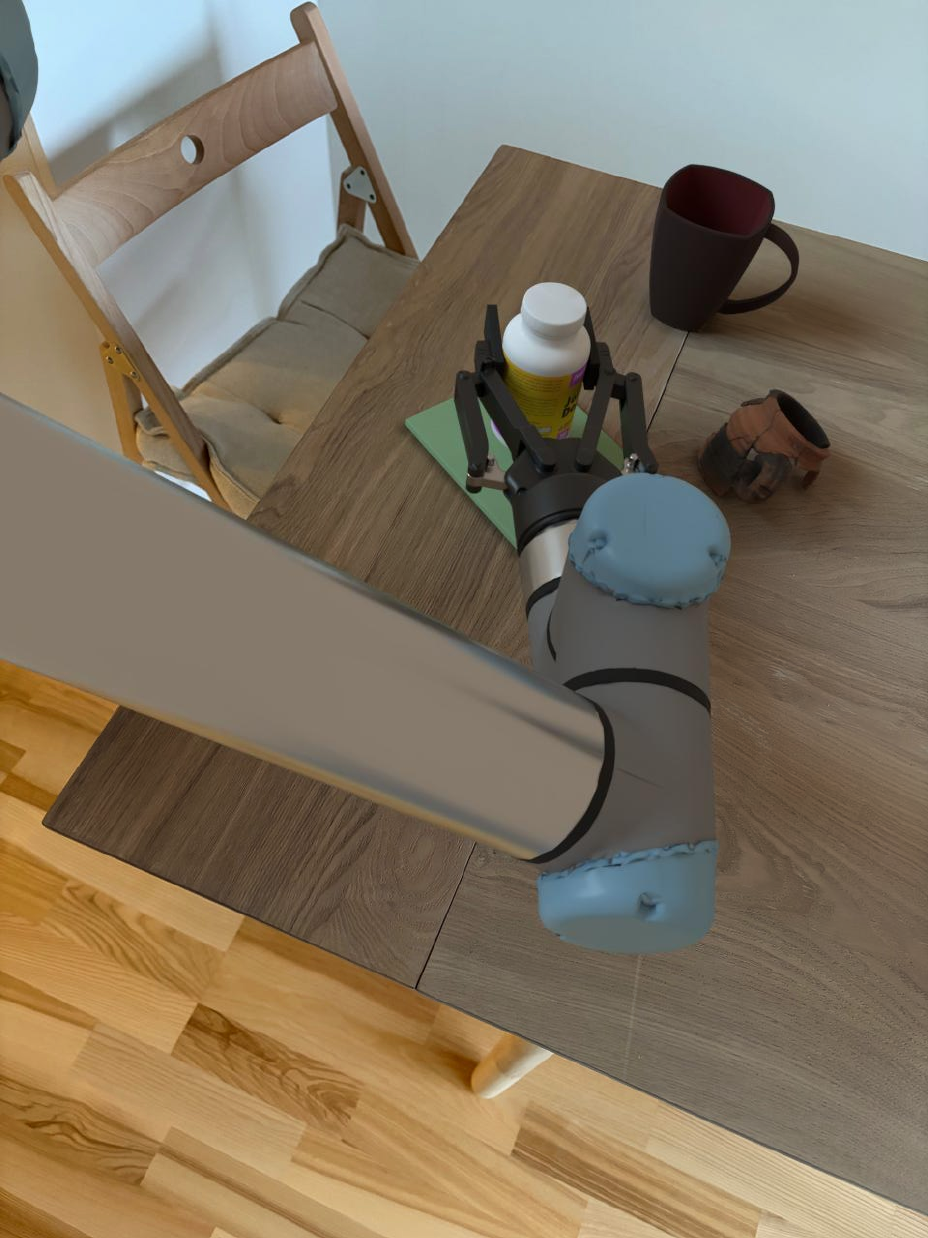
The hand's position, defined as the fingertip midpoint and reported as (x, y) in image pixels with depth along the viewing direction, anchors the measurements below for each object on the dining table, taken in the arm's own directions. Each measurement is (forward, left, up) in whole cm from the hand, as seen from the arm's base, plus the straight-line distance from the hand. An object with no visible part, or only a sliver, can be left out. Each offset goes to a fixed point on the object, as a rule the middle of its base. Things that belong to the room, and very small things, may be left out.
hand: (535, 319), depth 75 cm
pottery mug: (+17, +12, -10) cm, 23 cm away
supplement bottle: (+4, -3, -7) cm, 9 cm away
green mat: (+4, -3, -10) cm, 11 cm away
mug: (-1, +23, -10) cm, 26 cm away
